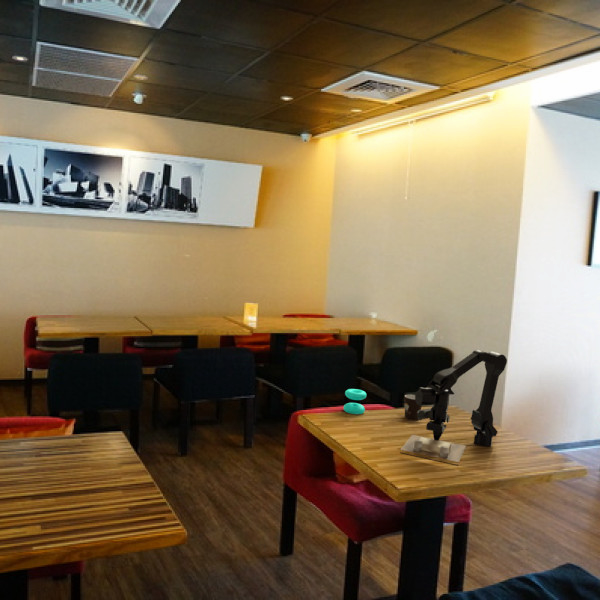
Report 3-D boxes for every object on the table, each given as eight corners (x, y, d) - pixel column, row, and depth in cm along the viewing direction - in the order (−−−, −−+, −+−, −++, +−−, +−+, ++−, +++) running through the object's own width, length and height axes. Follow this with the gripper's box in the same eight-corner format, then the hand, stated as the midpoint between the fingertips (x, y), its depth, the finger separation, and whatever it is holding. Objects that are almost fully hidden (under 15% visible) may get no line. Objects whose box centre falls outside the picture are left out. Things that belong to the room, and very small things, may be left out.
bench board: (465, 449, 251) (467, 437, 251) (458, 466, 231) (459, 453, 230) (411, 438, 259) (413, 426, 259) (399, 453, 239) (401, 440, 238)
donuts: (363, 395, 284) (342, 391, 287) (361, 416, 285) (340, 412, 288) (369, 390, 293) (349, 387, 297) (367, 411, 294) (346, 407, 298)
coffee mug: (422, 421, 285) (425, 400, 284) (403, 419, 286) (406, 398, 285) (418, 414, 297) (420, 394, 296) (400, 412, 297) (402, 392, 296)
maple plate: (450, 449, 244) (451, 443, 244) (447, 455, 237) (448, 448, 237) (420, 443, 249) (421, 436, 249) (416, 448, 242) (416, 442, 241)
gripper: (424, 396, 257) (420, 432, 259) (415, 406, 240) (410, 445, 242) (451, 401, 253) (447, 438, 255) (444, 411, 236) (439, 451, 238)
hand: (435, 442), depth 248 cm, fingers closed
